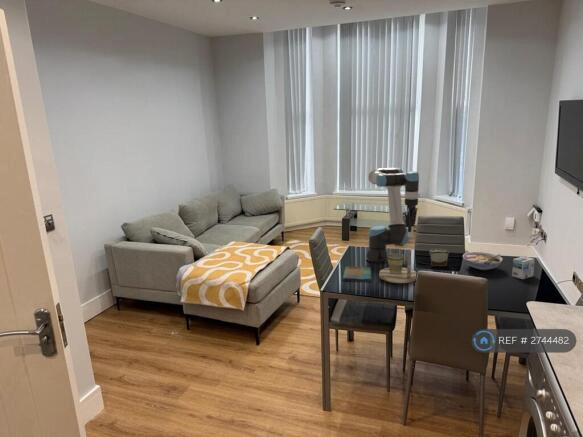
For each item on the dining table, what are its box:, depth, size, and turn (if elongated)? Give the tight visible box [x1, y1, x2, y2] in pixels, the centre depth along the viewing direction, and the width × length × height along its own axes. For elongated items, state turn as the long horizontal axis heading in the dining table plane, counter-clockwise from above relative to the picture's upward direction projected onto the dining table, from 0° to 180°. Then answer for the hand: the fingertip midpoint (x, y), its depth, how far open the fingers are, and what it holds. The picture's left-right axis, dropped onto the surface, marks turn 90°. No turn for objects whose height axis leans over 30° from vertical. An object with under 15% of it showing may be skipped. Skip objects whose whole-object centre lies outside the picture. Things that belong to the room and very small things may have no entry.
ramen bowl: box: [462, 251, 503, 271], centre depth 249 cm, size 25×23×8 cm
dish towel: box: [342, 266, 372, 283], centre depth 249 cm, size 17×23×2 cm
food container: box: [428, 248, 450, 267], centre depth 260 cm, size 12×6×10 cm, turn 84°
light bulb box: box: [511, 255, 536, 280], centre depth 234 cm, size 11×7×11 cm, turn 117°
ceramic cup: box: [387, 252, 408, 274], centre depth 240 cm, size 13×10×10 cm
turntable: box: [378, 249, 418, 284], centre depth 236 cm, size 22×22×19 cm
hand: (410, 236), depth 239 cm, fingers closed
